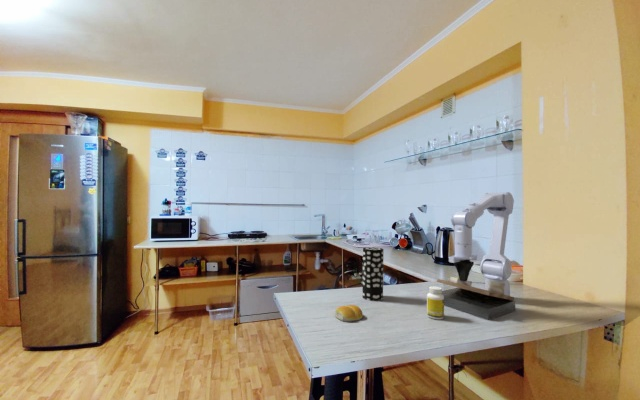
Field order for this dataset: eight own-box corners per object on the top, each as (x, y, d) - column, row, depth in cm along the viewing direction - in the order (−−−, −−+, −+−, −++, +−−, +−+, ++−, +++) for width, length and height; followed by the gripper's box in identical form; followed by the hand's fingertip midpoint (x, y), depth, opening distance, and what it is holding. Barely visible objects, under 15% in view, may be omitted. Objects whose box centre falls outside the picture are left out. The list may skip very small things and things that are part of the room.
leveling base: (460, 295, 120) (460, 286, 120) (515, 311, 102) (515, 301, 102) (433, 301, 111) (433, 292, 111) (488, 320, 92) (488, 309, 93)
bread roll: (367, 318, 93) (367, 306, 93) (346, 324, 88) (346, 311, 88) (351, 311, 100) (351, 299, 100) (330, 315, 95) (331, 304, 95)
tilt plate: (462, 287, 119) (463, 274, 120) (513, 300, 102) (515, 286, 103) (437, 281, 111) (439, 268, 112) (489, 295, 94) (491, 280, 95)
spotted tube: (367, 293, 120) (368, 246, 121) (386, 297, 116) (386, 248, 116) (358, 298, 114) (359, 248, 114) (377, 302, 109) (378, 250, 110)
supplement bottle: (445, 320, 92) (445, 290, 92) (428, 319, 93) (428, 289, 93) (442, 314, 97) (442, 286, 97) (425, 313, 98) (425, 285, 98)
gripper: (461, 246, 97) (461, 285, 96) (485, 244, 104) (485, 280, 104) (443, 243, 103) (443, 281, 102) (466, 242, 110) (466, 276, 110)
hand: (463, 280), depth 103 cm, fingers closed
